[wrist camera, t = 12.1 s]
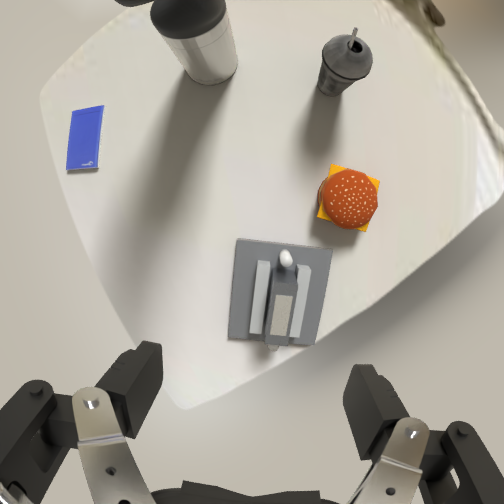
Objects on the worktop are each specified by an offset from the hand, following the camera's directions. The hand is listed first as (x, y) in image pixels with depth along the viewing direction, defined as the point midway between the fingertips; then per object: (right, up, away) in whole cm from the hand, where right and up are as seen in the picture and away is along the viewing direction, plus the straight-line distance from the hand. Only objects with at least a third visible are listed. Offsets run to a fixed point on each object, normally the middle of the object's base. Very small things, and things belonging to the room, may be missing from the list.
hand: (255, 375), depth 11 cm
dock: (+5, -2, +39) cm, 40 cm away
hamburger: (+15, +14, +36) cm, 41 cm away
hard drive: (-33, +27, +35) cm, 55 cm away
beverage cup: (+14, +34, +31) cm, 48 cm away
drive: (+4, -3, +38) cm, 38 cm away
